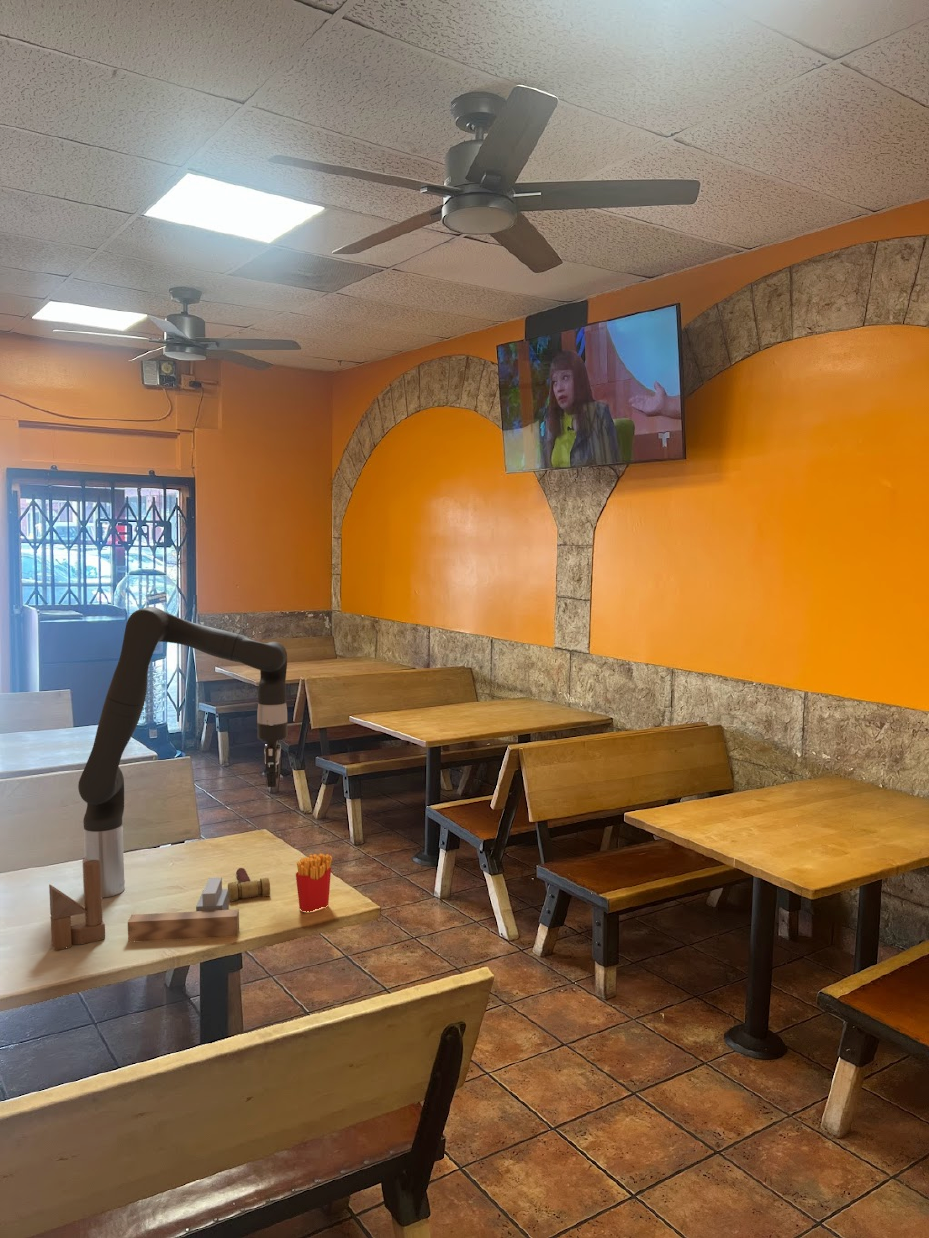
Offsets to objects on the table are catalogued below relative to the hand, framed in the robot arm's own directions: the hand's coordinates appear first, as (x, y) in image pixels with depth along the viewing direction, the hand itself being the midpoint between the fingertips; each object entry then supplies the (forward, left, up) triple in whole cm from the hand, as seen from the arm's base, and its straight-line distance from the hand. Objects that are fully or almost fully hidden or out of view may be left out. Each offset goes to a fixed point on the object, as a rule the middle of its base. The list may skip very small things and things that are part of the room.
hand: (273, 782), depth 236 cm
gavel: (-8, +2, -29) cm, 30 cm away
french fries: (+11, -15, -28) cm, 34 cm away
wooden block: (-41, -28, -28) cm, 57 cm away
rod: (-18, -27, -28) cm, 43 cm away
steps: (-13, -18, -28) cm, 36 cm away
